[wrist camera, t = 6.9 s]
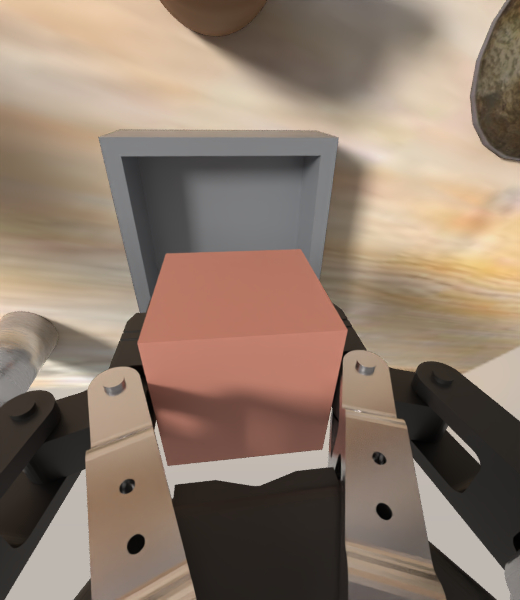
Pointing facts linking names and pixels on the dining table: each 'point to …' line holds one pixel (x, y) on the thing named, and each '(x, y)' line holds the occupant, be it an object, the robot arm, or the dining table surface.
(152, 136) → the tote
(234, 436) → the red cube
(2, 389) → the steel cylinder
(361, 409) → the robot arm
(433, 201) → the dining table surface
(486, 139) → the lantern
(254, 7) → the mug
